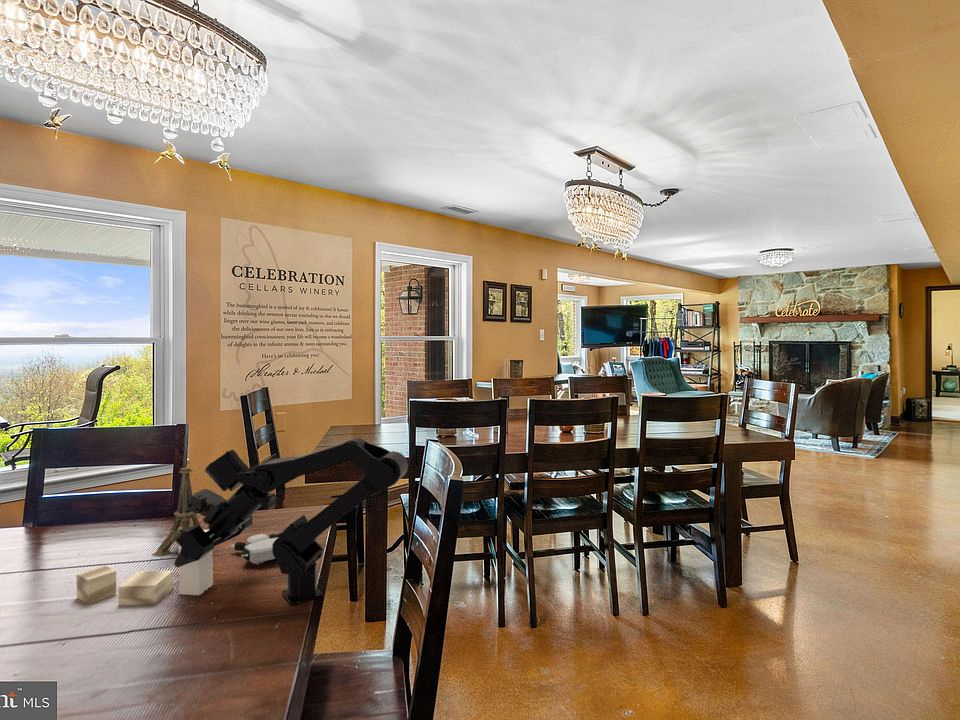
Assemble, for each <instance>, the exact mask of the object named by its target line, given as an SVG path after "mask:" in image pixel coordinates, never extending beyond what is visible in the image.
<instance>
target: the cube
mask: <svg viewBox="0 0 960 720" xmlns="http://www.w3.org/2000/svg"><path fill="white" fill-rule="evenodd" d="M75 576H76V599H78V600H79V599H80V600H79V601H81V600H82V602H83V601H84V602H83V603H85V604H87V605H90V604H94V603H97V602H99V601H101V600H104V599H107V598H110V597H113V596H115V595H117V570H115V569H113V568H111V567H108V566H107V565H101V566H99V567H95V568H91V569H89V570H85V571H83V572H79V573H77V574H76V575H75Z"/></svg>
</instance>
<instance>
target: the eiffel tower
mask: <svg viewBox="0 0 960 720" xmlns="http://www.w3.org/2000/svg"><path fill="white" fill-rule="evenodd" d="M186 454H187V453H186V451H185V452H184V455H185V456H184V467H182V468H180V470H179V471H178V473H180V474H181V480H180V487H179V488H180V489H179V497H178V504H177V505H178V506H177V510H176V511H175V512H174V513H173V515H174V517H175V519H174V523H173V526H172V528H171V529H169V534H168V535H167V537H165V538H164V540H163V541H162V543H161V544H160V545H159V547H158V548H157V549H156V551H155V552H154V553H152V554H151V556H155V557H163V556H165V555H168V554H170V553H171V550H170V548H171V547H172V546H173V544H174V543H175V542H176V537H177V536H178V535H179V534H180V533H181V532H182V531H183V530H185V529H187V528H189V527H191V526H193V525H195V526H200V527H201V528H202V529H203V527H204V525H201V523H200V521H199V519H198V516H197V515H198V514H195V513H193V512H192V511H190V510H188V509H187V505H188V504H187V500H189V499H190V498H191V496H193V495H194V494H193V490H192V482H191V477H190V473H192V472H193V470H192V468H191V467H187V458H186ZM191 521H192V523H193V524H191ZM181 523H182V526H180V525H181ZM177 557H178V555H177ZM177 557H176V558H175V560H176V559H177Z"/></svg>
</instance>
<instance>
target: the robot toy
mask: <svg viewBox="0 0 960 720" xmlns="http://www.w3.org/2000/svg"><path fill="white" fill-rule="evenodd" d="M276 535H277V534H276V533H271V534H270V535H269V536H268V535H267V534H266V533H260V534H255V535H251V536H249V537H248V538H247V539H246V542H243V541H237V542H236V543H234V544H231V545H230V548H231V549H234V551H238V552H242V553H241V555H240V557H241V558H243V559H244V560H246V561H247V562H249V563H252V564H254V565H260V564H259V563H261V564H263V563H265V562H266V561H272V560H277V559H276V558H275V557H274V555H273V551H272V547H273V546H272V544H273V543H274V541H275V540H276V539H277V538H278V537H276ZM262 562H263V563H262Z"/></svg>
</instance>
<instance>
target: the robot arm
mask: <svg viewBox="0 0 960 720" xmlns="http://www.w3.org/2000/svg"><path fill="white" fill-rule="evenodd" d="M346 462H350V463H352V464H353V465H355V466H356V467H357V468H358V469H359V470H360V471H362V472H363V473H365V474H364V475H363V476H362V478H361V479H360V480H359V481H358V482H357V483H356V484H354V485H353V486H352V487H350V488H349V489H348V490H347V491H345V492H344V493H343V494H341V496H339V497H338V498H336V499H335V500H334V501H333V502H331V503H330V504H329V505H327V506H326V507H325V508H324V509H321V510H320V512H319V513H317V514H315V515H314V516H313V517H311V518H308V519H307V517H306V515H305V514H302V515H301V516H300V517H298V518H297V519H296V520H294V521H293V522H292V523H290V524H289V525H288V526H287V527H285V528H284V529H283V530H281V531H280V532H279V533H277V534H276V537H277V539H276V540H275V541H274V543H273V544H272V546H273V547H272V551H273V555H274V557H275V558H276V559H275V560H276V561H277V564H278V567H279V570H280V573H281V574H282V575H286V581H287V583H286V588H287V589H285V590H282V591H281V593H282V594H283V595H284V596H285V597H286V599H287V600H288V601H289V602H290V603H291V604H295V603H298V602H302V601H305V602H307V601H306V600H308V601H311V600H315V599H318V598H321V597H323V596H324V595H323V594H324V593H323V592H322V591H321V590H320V589H319V588H318V587H317V562H318V560H320V559H321V558H322V556H323V553H324V548H323V547H322V546H321V545H320V543H318V542H317V540H318V539H319V537H320V536H321V535H322V534H323V532H325V531H327V530H328V529H329V528H331V526H333V525H334V524H335V523H337V522H338V521H340V520H341V519H342V518H343V517H344V516H346V515H347V514H348V513H350V512H351V511H352V510H354V509H355V508H356V507H357V506H359V505H360V504H361V503H363V502H364V501H365V500H367V499H368V498H369V497H371V496H373V495H376V494H378V493H381V492H383V491H385V490H386V489H388V488H390V487H392V486H394V485H395V484H396V483H398V482H399V480H401V479H402V478H403V477H404V476H405V475H406V474H407V472H408V467H409V462H408V459H407V458H406V456H405V455H403V453H401V452H399V451H391V450H388V449H386V448H384V447H382V446H379V445H375V444H374V443H370V442H367V441H365V440H364V439H362V438H360V437H353V438H351V439H348V440H347V441H345V442H341V443H338V444H335V445H332V446H328V447H326V448H323V449H319V450H316V451H314V452H310V453H307V454H305V455H302V456H300V455H299V456H287V457H278V458H274V459H272V460H269V461H266V462H265V463H262V464H255V465H254V466H251V467H248V465H247V464H246V463H245V462H244V461H243V460H242V458H240V456H239V455H238V453H237V452H236V451H235V450H234V449H231V450H227V451H225V453H224V454H222V455H220V456H219V457H218V458H216V459H215V460H214V461H212V462H210V463H209V464H208V465H207V466H206V468H205V469H204V473H206V475H207V476H208V477H209V478H211V480H212V481H213V482H214V483H215V484H216V486H218V487H219V488H220V490H221V491H222V492H226V491H228V490H229V491H230V492H233V491H235V490H236V489H237V490H236V491H235V492H234V493H233V494H232V495H231V496H230V497H229V498H228V499H226V498H224V497H223V496H222V495H220V494H218V493H217V492H214V491H213V490H210V489H209V488H203V489H201V490H199V491H197V492H195V493H193V494H192V495H193V496H191V498H190V499H189V500H187V504H188V505H187V509H188V510H190V511H192V512H193V513H195V514H196V515H198V514H199V515H201V516H203V518H202V521H203V522H204V523H205V524H206V525H207V524H208V525H207V527H208V530H209V531H207V532H205V531H204V530H205V529H203V527H202V528H201V527H200V526H195V525H193V524H192V525H193V526H191V527H189V528H187V529H185V530H183V531H182V532H181V533H180V534H179V535H178V536H177V537H176V541H175V542H176V543H177V544H179V545H180V546H181V547H182V548H181V551H180V553H179V552H178V554H177V556H178V557H176V558H177V559H176V558H175V561H174V563H173V564H174V565H175V567H176V568H179V567H181V566H183V565H186V564H188V563H191V562H194V561H198V560H200V559H201V558H203V557H205V556H206V555H207V554H208V553H209V552H211V551H212V552H213V550H214V549H215V548H214V546H216V545H219V544H220V545H221V544H223V543H225V542H226V541H229V540H231V539H234V538H236V537H238V536H240V535H241V534H242V533H244V532H246V531H247V530H249V528H251V526H252V525H253V514H255V512H256V511H257V510H258V509H259V508H260V507H262V508H264V510H265V511H269V510H270V509H271V508H272V507H274V506H276V505H277V500H276V493H271V492H272V491H274V490H276V489H278V488H280V487H282V486H284V485H286V484H288V483H289V482H292V481H293V480H295V479H297V478H299V477H301V476H305V475H307V474H311V473H314V472H317V471H321V470H323V469H326V468H330V467H333V466H336V465H340V464H341V463H342V464H343V463H346ZM210 537H211V538H210ZM220 545H219V546H220ZM282 594H281V595H282ZM283 595H282V596H283ZM284 596H283V597H284ZM286 599H285V600H286ZM310 599H311V600H310ZM287 600H286V601H287ZM288 601H287V602H288ZM289 602H288V603H289ZM290 603H289V604H290ZM302 603H303V602H302ZM291 604H290V605H291ZM298 604H299V603H298ZM295 605H296V604H295Z"/></svg>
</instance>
